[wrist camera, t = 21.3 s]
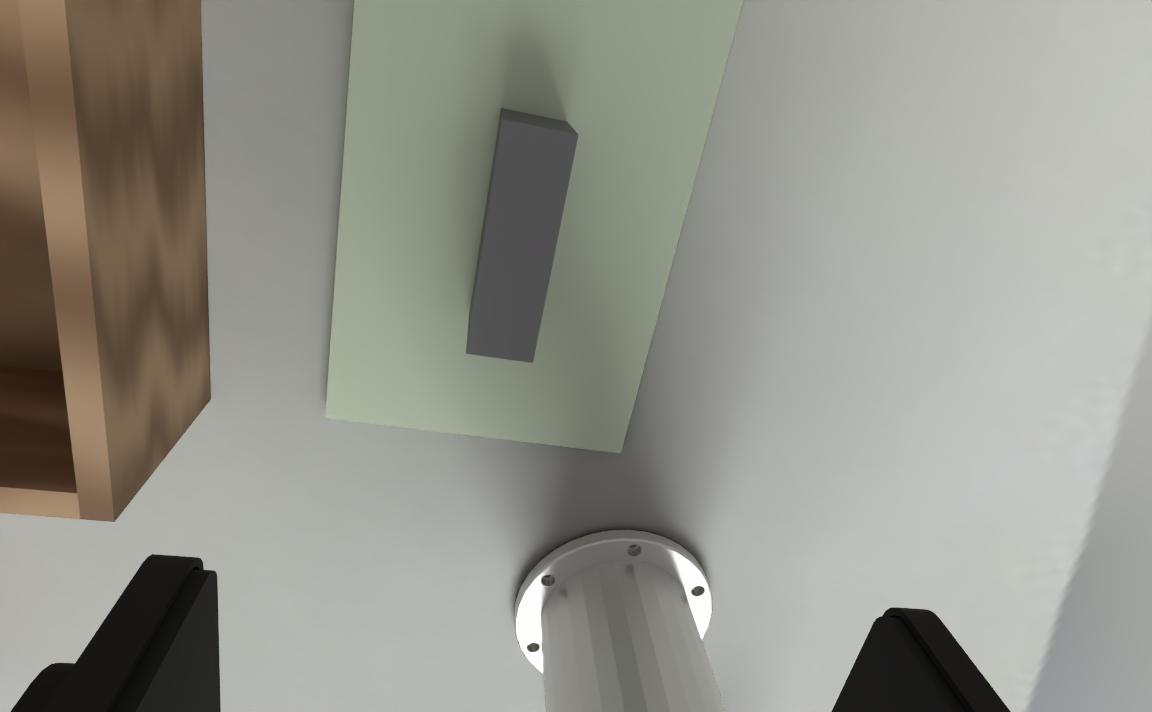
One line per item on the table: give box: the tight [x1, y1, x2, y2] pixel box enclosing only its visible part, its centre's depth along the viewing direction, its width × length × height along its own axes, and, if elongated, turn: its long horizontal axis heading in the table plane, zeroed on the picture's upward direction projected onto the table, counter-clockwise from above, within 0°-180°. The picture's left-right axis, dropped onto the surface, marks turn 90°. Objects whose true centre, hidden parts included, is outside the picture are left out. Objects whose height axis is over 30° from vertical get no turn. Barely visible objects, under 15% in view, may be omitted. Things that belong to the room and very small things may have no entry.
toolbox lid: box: [325, 0, 744, 454], centre depth 31 cm, size 24×16×6 cm
